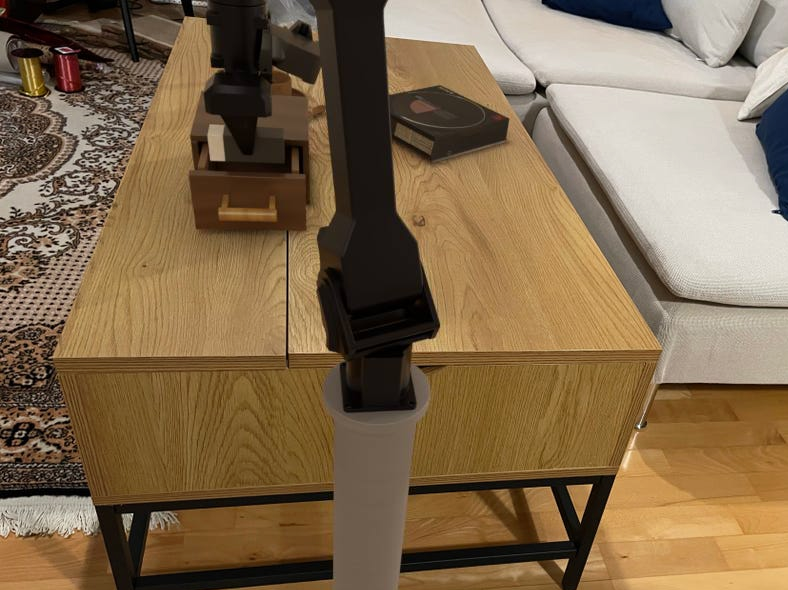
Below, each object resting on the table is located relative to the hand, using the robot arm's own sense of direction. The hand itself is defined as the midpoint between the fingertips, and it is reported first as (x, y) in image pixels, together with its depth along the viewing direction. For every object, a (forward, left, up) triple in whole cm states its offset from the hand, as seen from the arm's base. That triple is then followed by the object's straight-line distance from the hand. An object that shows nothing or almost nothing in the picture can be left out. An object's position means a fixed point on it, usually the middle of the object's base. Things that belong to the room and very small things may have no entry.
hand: (248, 148), depth 80 cm
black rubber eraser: (0, 0, -1) cm, 1 cm away
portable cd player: (+30, -27, -10) cm, 42 cm away
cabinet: (+12, 0, -9) cm, 15 cm away
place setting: (+41, -3, -10) cm, 42 cm away
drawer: (+1, 0, -8) cm, 8 cm away
